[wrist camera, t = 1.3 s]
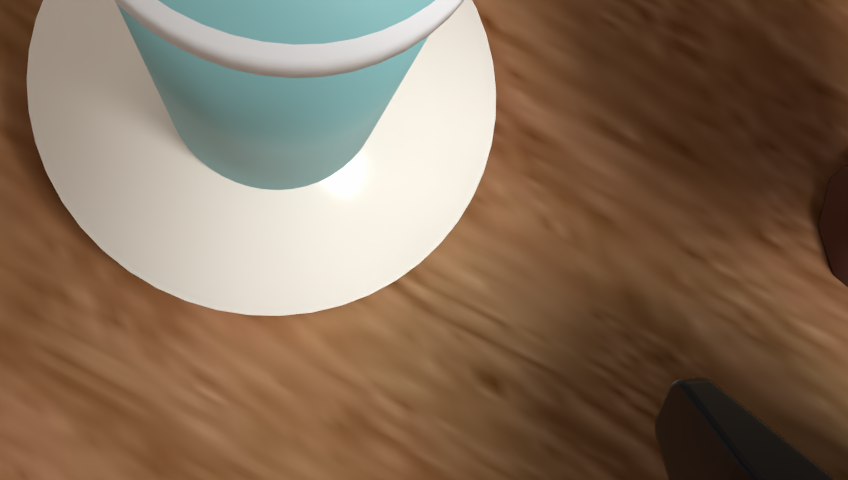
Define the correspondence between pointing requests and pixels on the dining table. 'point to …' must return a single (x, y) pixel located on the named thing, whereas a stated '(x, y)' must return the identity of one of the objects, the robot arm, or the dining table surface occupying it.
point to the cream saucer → (247, 206)
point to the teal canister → (279, 77)
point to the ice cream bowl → (836, 224)
